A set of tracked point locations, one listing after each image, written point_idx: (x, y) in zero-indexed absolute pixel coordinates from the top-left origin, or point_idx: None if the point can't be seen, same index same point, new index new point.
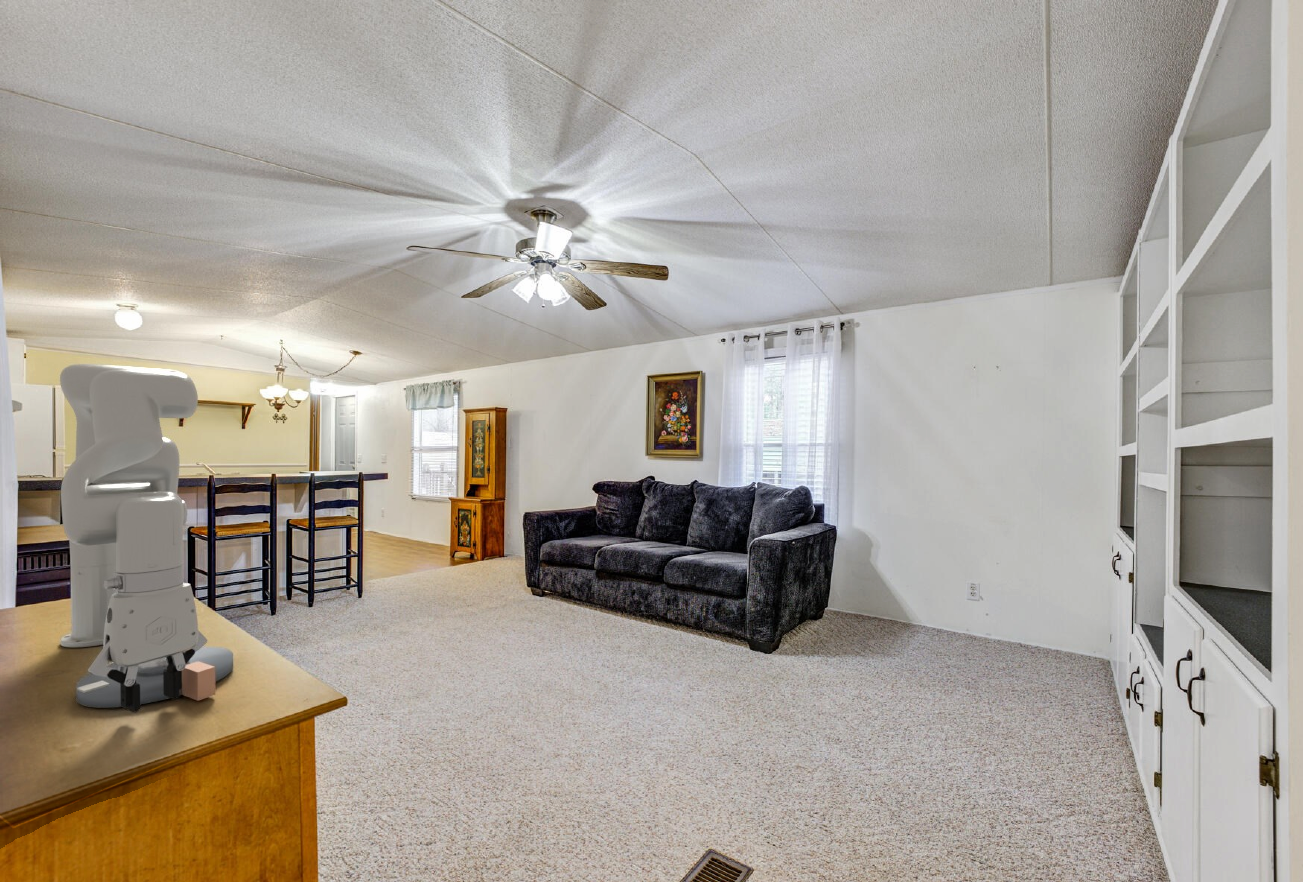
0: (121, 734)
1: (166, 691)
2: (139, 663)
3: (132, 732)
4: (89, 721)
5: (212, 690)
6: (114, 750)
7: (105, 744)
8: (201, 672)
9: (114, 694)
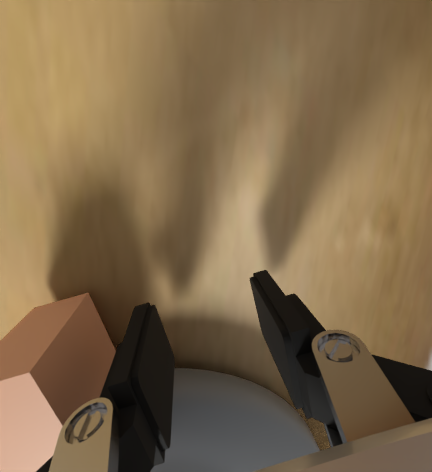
0: (285, 220)
1: (167, 354)
2: (400, 433)
3: (263, 212)
4: None
5: (32, 317)
6: (321, 107)
7: (326, 178)
8: (14, 371)
9: (285, 427)
